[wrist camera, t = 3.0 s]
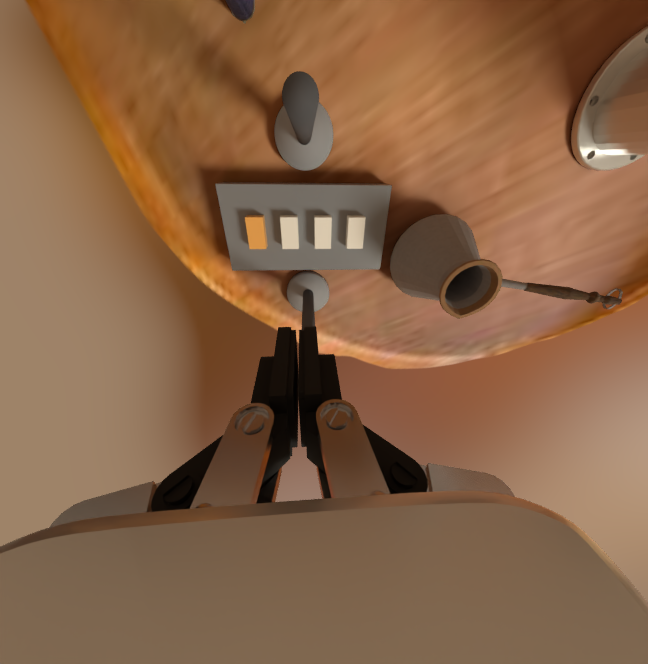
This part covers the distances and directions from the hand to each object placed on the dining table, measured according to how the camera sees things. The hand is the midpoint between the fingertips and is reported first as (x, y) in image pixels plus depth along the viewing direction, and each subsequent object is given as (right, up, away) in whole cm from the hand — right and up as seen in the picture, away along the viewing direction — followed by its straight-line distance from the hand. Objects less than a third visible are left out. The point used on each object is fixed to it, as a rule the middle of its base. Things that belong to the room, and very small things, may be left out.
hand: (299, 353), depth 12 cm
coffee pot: (+21, +13, +26) cm, 35 cm away
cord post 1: (-1, +23, +17) cm, 29 cm away
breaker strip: (-1, +15, +22) cm, 27 cm away
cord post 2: (-1, +7, +28) cm, 29 cm away
